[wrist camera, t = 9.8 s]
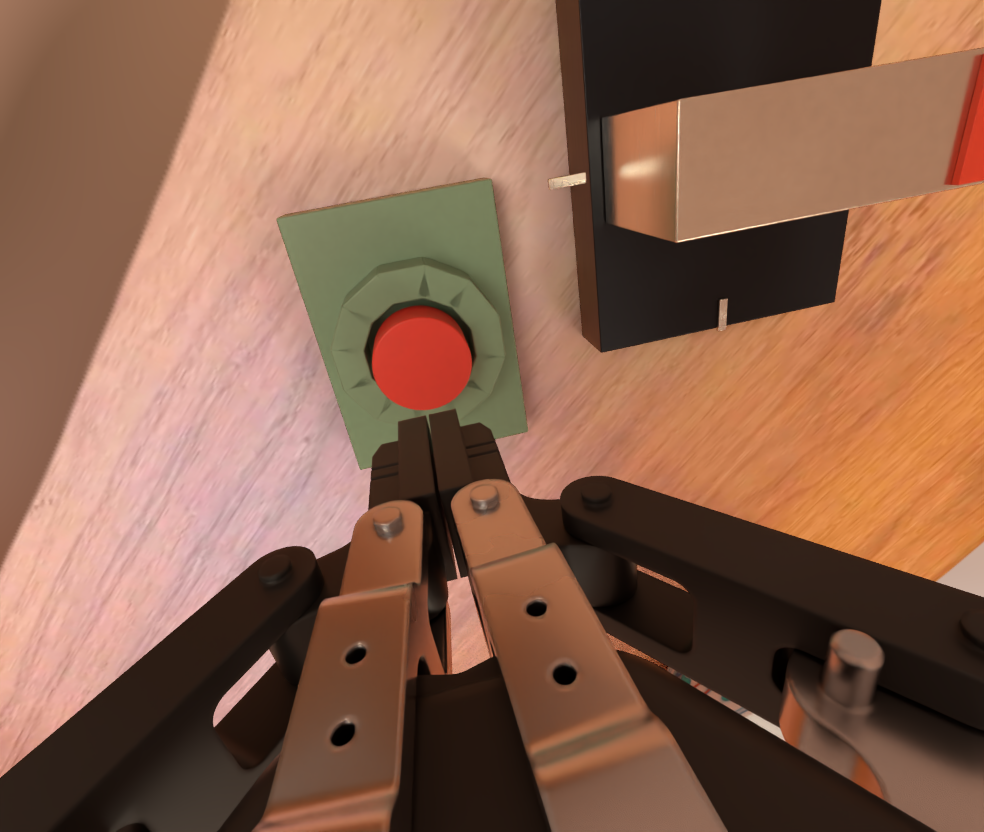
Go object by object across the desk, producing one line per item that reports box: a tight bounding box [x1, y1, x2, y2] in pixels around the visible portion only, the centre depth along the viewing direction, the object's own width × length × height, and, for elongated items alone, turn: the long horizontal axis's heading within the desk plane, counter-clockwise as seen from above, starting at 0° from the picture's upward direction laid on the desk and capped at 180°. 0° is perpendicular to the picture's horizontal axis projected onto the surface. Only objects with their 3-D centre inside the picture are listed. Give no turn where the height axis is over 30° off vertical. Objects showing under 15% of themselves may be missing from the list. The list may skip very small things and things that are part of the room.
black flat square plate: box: [548, 0, 881, 353], centre depth 20 cm, size 14×14×3 cm
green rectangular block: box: [277, 178, 528, 470], centre depth 21 cm, size 11×8×4 cm
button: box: [372, 305, 472, 410], centre depth 19 cm, size 4×4×2 cm
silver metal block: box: [602, 47, 984, 243], centre depth 17 cm, size 10×4×6 cm, turn 99°
